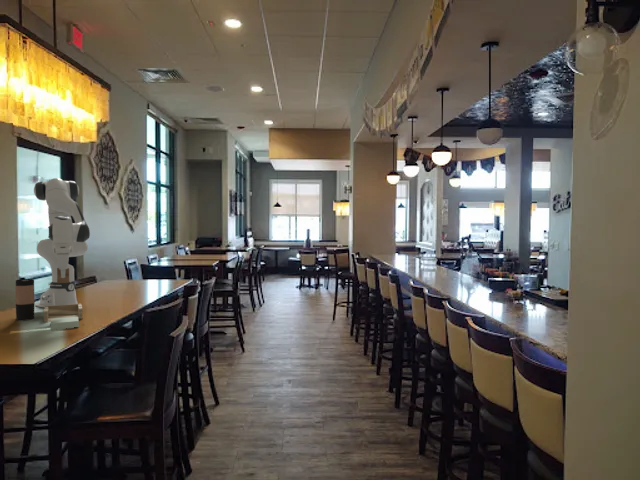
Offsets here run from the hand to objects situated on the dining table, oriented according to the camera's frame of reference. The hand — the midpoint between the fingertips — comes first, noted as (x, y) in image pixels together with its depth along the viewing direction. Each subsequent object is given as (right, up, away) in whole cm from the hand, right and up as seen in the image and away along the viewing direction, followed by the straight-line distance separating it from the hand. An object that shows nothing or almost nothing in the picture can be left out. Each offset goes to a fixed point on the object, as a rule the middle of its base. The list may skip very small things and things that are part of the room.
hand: (63, 277), depth 216 cm
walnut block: (0, -3, 0) cm, 3 cm away
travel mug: (-17, -21, -2) cm, 27 cm away
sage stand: (+8, -22, -13) cm, 26 cm away
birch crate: (-1, -21, +2) cm, 21 cm away
